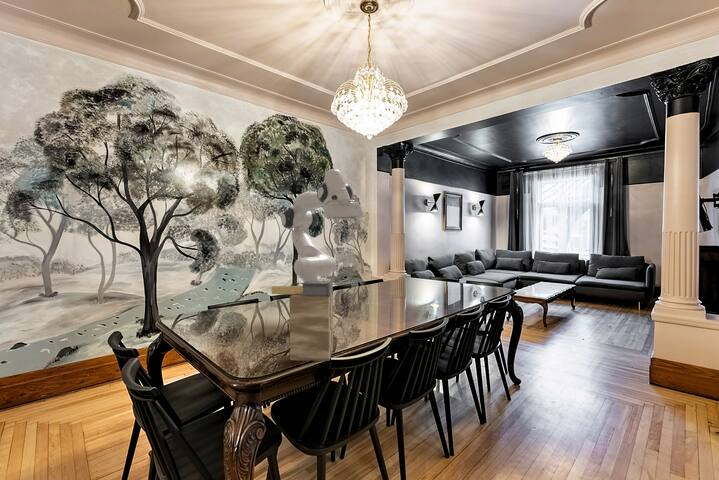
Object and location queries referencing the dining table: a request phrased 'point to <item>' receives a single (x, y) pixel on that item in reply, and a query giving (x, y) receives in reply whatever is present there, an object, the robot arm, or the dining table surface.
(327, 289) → the socket
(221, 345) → the dining table surface
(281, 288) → the bar
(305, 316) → the pedestal
